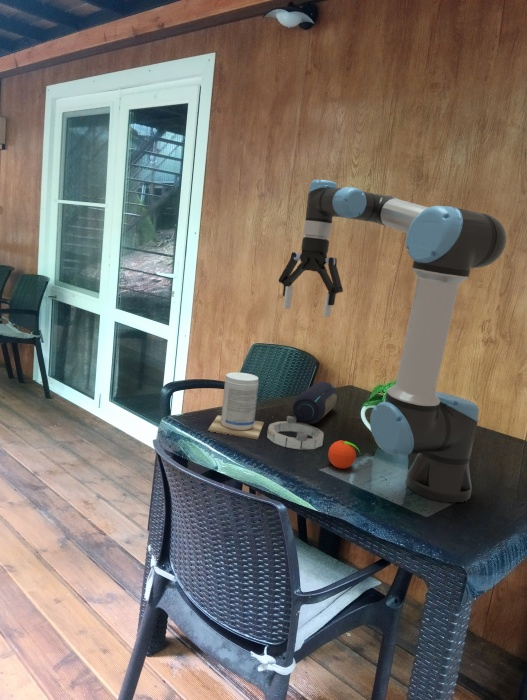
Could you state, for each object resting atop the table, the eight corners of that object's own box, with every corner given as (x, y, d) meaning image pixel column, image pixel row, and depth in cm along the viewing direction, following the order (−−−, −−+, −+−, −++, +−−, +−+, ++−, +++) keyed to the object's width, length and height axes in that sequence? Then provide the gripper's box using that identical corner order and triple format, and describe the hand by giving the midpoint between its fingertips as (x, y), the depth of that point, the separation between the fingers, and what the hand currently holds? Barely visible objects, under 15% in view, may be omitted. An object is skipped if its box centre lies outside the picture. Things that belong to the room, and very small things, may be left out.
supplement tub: (260, 429, 164) (266, 379, 161) (233, 433, 158) (239, 381, 155) (239, 418, 171) (245, 371, 168) (213, 422, 165) (219, 372, 162)
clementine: (360, 467, 146) (364, 440, 145) (355, 476, 140) (359, 448, 138) (329, 459, 148) (333, 433, 147) (323, 468, 142) (327, 441, 141)
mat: (257, 439, 157) (257, 437, 157) (207, 431, 158) (208, 429, 158) (263, 424, 171) (263, 422, 170) (217, 416, 172) (217, 415, 172)
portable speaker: (318, 430, 171) (323, 398, 170) (287, 423, 175) (291, 391, 173) (338, 411, 195) (342, 382, 193) (310, 404, 198) (314, 377, 196)
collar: (321, 453, 152) (323, 439, 151) (264, 444, 153) (266, 430, 153) (322, 434, 168) (324, 421, 167) (270, 425, 170) (272, 413, 169)
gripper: (362, 243, 156) (350, 319, 160) (287, 234, 170) (278, 305, 174) (349, 241, 150) (337, 320, 154) (272, 232, 164) (263, 305, 168)
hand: (306, 312), depth 164 cm, fingers open, 13 cm apart
